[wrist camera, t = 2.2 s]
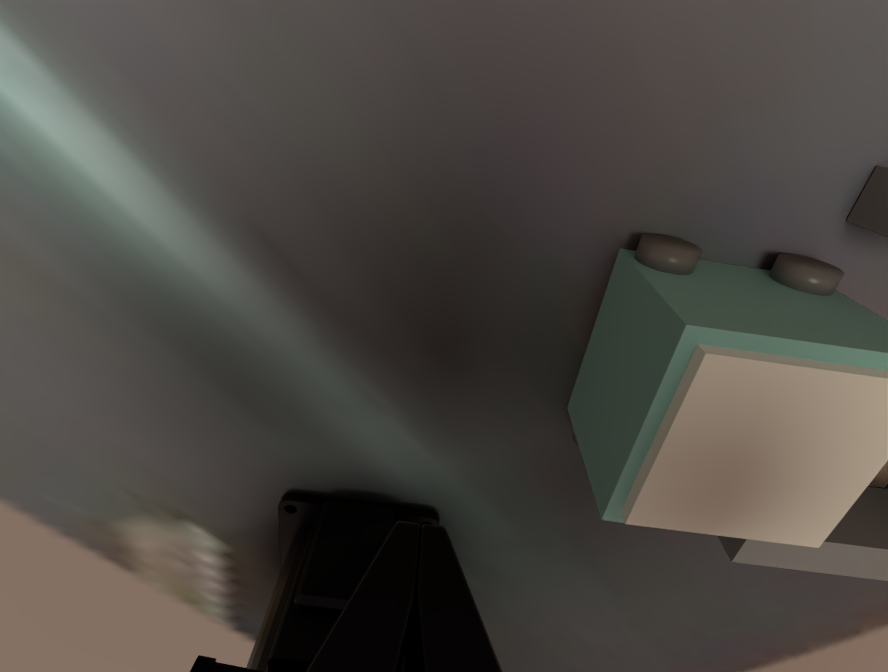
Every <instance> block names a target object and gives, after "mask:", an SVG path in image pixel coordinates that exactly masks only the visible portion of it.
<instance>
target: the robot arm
mask: <svg viewBox="0 0 888 672" xmlns="http://www.w3.org/2000/svg"><path fill="white" fill-rule="evenodd" d="M278 516H279V541H280V566H281V572H280V575H279V578H278V581H277V584H276V586H275V589H274V592H273V595H272V598H271V600H270V603H269V606H268V609H267V612H266V614H265V617H264V620H263V623H262V625H261V628H260V631H259V634H258V637H257V639H256V642H255V645H254V648H253V651H252V654H251V656H250V659H249V662H248V664H247V667H246V668H243V667H237V666H233V665H227V664H222V663H217V662H216V659H215V658H210V657H205V656H200V655H199V656H198V657H197V659H196V661H195V663H194V665H193V667H192V669H191V671H190V672H502V670H501V667H500V665H499V662H498V660H497V657H496V654H495V652H494V649H493V647H492V644H491V642H490V639H489V637H488V634H487V632H486V629H485V627H484V624H483V622H482V619H481V616H480V614H479V611H478V609H477V606H476V604H475V601H474V599H473V596H472V594H471V591H470V589H469V586H468V584H467V581H466V579H465V576H464V573H463V571H462V568H461V566H460V563H459V561H458V558H457V556H456V553H455V551H454V548H453V546H452V543H451V541H450V538H449V535H448V533H447V531H446V529H445V528H444V527H443V526H439V515H438V514H437V513H436V512H435V511H433V510H429V509H421V508H413V507H405V506H397V505H389V504H381V503H373V502H365V501H356V500H348V499H340V498H332V497H324V496H316V495H308V494H300V493H287V494H284V495H283V496H282V498H281V501H280V503H279V506H278Z"/></svg>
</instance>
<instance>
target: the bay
mask: <svg viewBox="0 0 888 672" xmlns="http://www.w3.org/2000/svg"><path fill="white" fill-rule="evenodd" d="M846 221H848V222H851V223H853V224H856V225H858V226H861V227H863V228H866V229H868V230H871V231H873V232H876V233H878V234H881V235H883V236H886V237H888V168H886V167H880V166H876V168H875V170H874V172H873V174H872V175H871V177H870V179H869V181H868V183H867V184H866V186H865V188H864V190H863V192H862V193H861V195H860V197H859V199H858V201H857V202H856V204H855V206H854V208H853V210H852V211H851V213H850V215H849V217H848V219H847V220H846ZM717 536H718V535H717ZM718 538H719V540H720V541H721V543H722V545H723V547H724V549H725V551H726V552H727V554H728V556H729V558H730V560H731V562H737V563H745V564H754V565H762V566H770V567H778V568H786V569H794V570H802V571H811V572H819V573H827V574H835V575H843V576H851V577H860V578H868V579H876V580H884V581H888V487H887V488H886V489H883V488H875V487H868V486H867V487H866V489H865V490H864V491H863V492H862V494H861V495H860V496H859V498H858V499H857V500H856V501H855V503H854V504H853V505H852V506H851V508H850V509H849V510H848V512H847V513H846V514H845V515H844V517H843V518H842V519H841V520H840V522H839V523H838V524H837V525H836V527H835V528H834V529H833V531H832V532H831V533H830V534H829V536H828V537H827V538H826V539H825V541H824V542H823V543H822V544H821V546H820V547H819V548H814V547H806V546H798V545H790V544H782V543H774V542H766V541H758V540H750V539H742V538H734V537H726V536H718Z"/></svg>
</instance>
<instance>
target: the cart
mask: <svg viewBox="0 0 888 672" xmlns="http://www.w3.org/2000/svg"><path fill="white" fill-rule="evenodd" d="M701 252H702V250H701V249H700V248H699V247H698V246H696V245H694V244H692V243H690V242H687V241H684V240H681V239H678V238H675V237H670V236H666V235H660V234H644V235H642V236H641V239H640V241H639V244H638V247H637V250H636V251H634V250H627V249H619V252H618V255H617V258H616V261H615V264H614V267H613V270H612V273H611V276H610V279H609V282H608V285H607V288H606V291H605V294H604V297H603V300H602V304H601V307H600V310H599V313H598V316H597V319H596V322H595V325H594V328H593V331H592V334H591V337H590V340H589V343H588V346H587V349H586V352H585V355H584V358H583V361H582V364H581V367H580V370H579V373H578V376H577V379H576V382H575V385H574V388H573V391H572V394H571V397H570V400H569V403H568V406H567V410H568V413H569V416H570V419H571V423H572V426H573V429H574V431H573V439H574V441H575V443H576V444H577V445H578V447H579V449H580V452H581V455H582V458H583V461H584V465H585V468H586V471H587V474H588V478H589V481H590V484H591V487H592V491H593V494H594V497H595V500H596V504H597V507H598V510H599V513H600V517H601V520H606V521H614V522H622V523H625V524H629V525H637V526H645V527H653V528H662V529H670V530H678V531H686V532H694V533H702V534H710V535H718V536H726V537H734V538H742V539H750V540H758V541H766V542H774V543H782V544H790V545H798V546H806V547H814V548H819V547H820V546H821V544H822V543H823V542H824V541H825V539H826V538H827V537H828V536H829V534H830V533H831V532H832V531H833V529H834V528H835V527H836V525H837V524H838V523H839V522H840V520H841V519H842V518H843V517H844V515H845V514H846V513H847V512H848V510H849V509H850V508H851V506H852V505H853V504H854V503H855V501H856V500H857V499H858V498H859V496H860V495H861V494H862V492H863V491H864V490H865V489H866V487H867V486H868V485H869V484H870V482H871V481H872V480H873V479H874V477H875V476H876V475H877V473H878V472H879V471H880V470H881V468H882V467H883V466H884V465H885V463H886V462H887V461H888V321H887V320H886V319H884V318H882V317H881V316H879V315H877V314H876V313H874V312H872V311H870V310H869V309H867V308H865V307H864V306H862V305H860V304H859V303H857V302H855V301H854V300H852V299H850V298H849V297H847V296H845V295H843V294H842V293H840V292H838V291H837V290H835V289H836V287H837V285H838V283H839V282H840V280H841V278H842V277H843V275H844V272H843V271H842V270H840V269H839V268H837V267H835V266H833V265H830V264H828V263H825V262H822V261H819V260H816V259H813V258H809V257H805V256H800V255H795V254H786V253H783V254H779V255H778V257H777V259H776V261H775V263H774V265H773V267H772V269H771V270H764V269H757V268H750V267H744V266H737V265H730V264H723V263H716V262H709V261H703V260H698V259H699V257H700V255H701Z"/></svg>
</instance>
